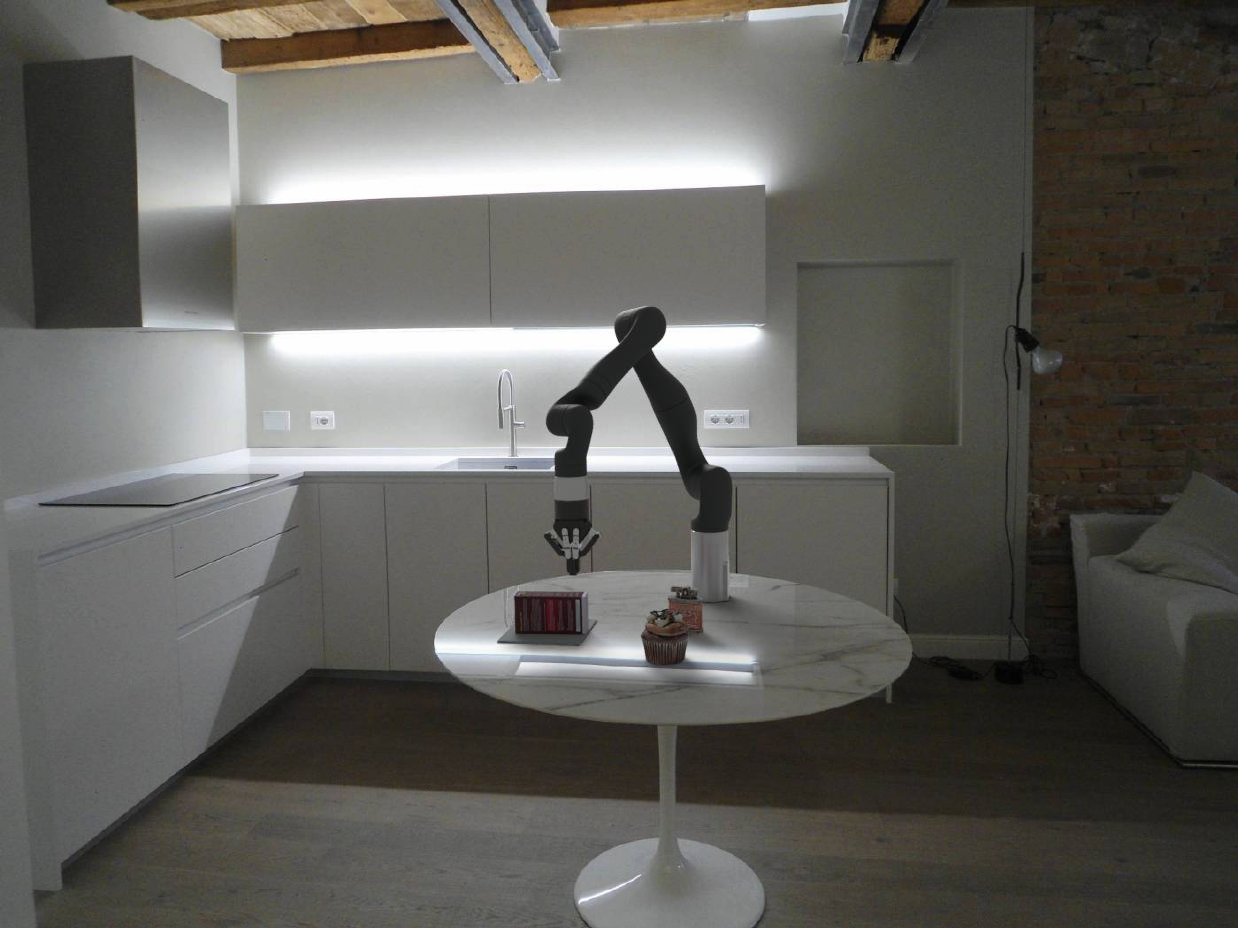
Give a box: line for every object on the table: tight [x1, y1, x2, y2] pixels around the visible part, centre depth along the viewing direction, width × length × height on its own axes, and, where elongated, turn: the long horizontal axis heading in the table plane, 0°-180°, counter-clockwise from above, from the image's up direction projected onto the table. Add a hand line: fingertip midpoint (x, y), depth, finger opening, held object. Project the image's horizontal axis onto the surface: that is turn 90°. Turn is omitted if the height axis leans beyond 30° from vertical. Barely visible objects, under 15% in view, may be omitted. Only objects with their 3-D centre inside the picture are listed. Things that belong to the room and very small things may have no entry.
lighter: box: [667, 585, 704, 635], centre depth 205 cm, size 8×3×10 cm, turn 65°
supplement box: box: [513, 590, 589, 634], centre depth 205 cm, size 9×5×16 cm
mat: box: [496, 618, 598, 646], centre depth 207 cm, size 18×18×1 cm
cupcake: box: [640, 608, 690, 666], centre depth 187 cm, size 10×10×10 cm
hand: (573, 574), depth 204 cm, fingers closed
